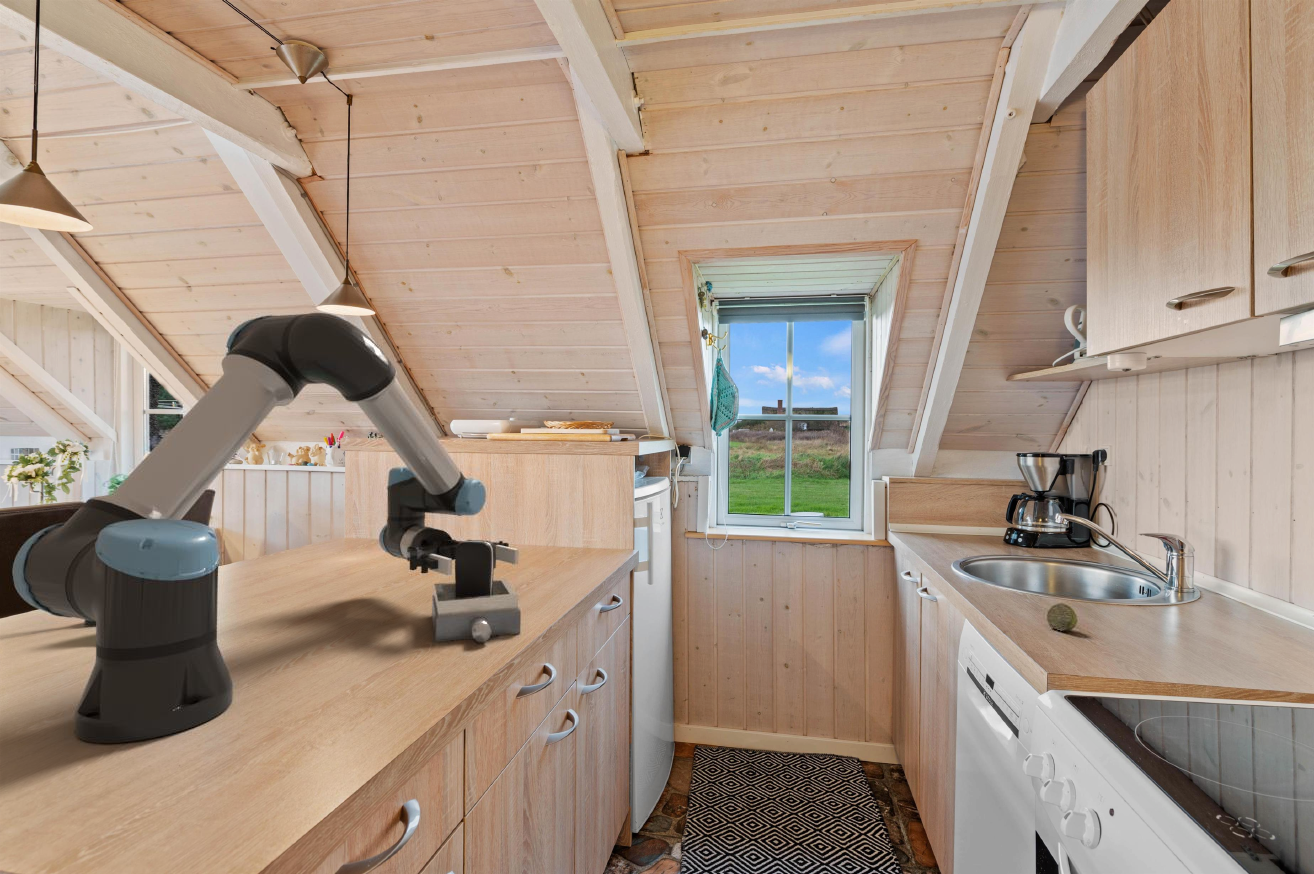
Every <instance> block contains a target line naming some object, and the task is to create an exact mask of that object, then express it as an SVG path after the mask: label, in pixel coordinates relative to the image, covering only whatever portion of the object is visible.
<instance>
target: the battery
mask: <svg viewBox="0 0 1314 874" xmlns="http://www.w3.org/2000/svg"><path fill="white" fill-rule="evenodd" d="M462 541H463V542H460V543H459V544H458V545H457V547H456V551H455V559H454V582H455V587H456V589H455V598H466V597H479V596H491V595H493V580H494V573H495V572H494V570H495V569H496V568H497V560H496V548H495V545H494V544H493V543H492V542H493V541H491V540H480V539H474V540H472V539H467V540H462Z"/></svg>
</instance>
